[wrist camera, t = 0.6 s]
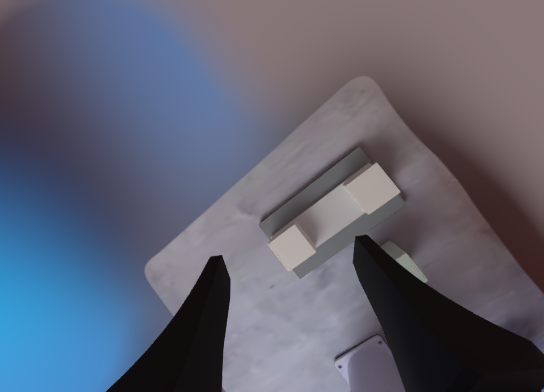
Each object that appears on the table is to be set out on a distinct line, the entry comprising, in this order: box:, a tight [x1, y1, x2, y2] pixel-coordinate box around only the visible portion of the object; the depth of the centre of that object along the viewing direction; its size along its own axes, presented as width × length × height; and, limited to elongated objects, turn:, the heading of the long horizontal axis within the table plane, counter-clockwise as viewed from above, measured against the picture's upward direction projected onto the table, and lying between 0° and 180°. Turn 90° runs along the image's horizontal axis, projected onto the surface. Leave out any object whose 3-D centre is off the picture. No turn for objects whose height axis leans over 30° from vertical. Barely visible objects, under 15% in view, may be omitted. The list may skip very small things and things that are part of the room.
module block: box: [380, 240, 428, 283], centre depth 31 cm, size 4×5×6 cm
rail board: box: [259, 146, 407, 279], centre depth 32 cm, size 10×18×5 cm, turn 129°
